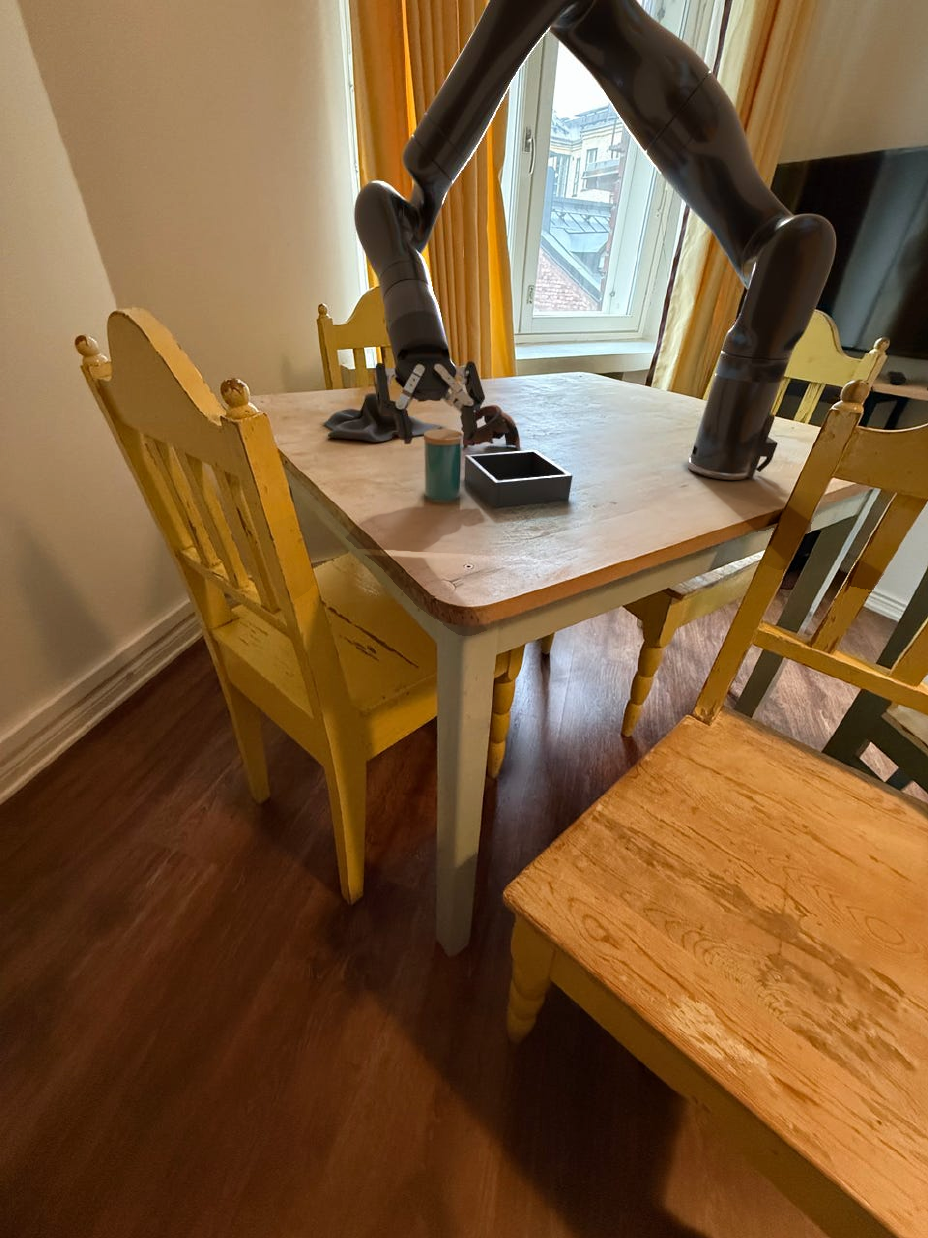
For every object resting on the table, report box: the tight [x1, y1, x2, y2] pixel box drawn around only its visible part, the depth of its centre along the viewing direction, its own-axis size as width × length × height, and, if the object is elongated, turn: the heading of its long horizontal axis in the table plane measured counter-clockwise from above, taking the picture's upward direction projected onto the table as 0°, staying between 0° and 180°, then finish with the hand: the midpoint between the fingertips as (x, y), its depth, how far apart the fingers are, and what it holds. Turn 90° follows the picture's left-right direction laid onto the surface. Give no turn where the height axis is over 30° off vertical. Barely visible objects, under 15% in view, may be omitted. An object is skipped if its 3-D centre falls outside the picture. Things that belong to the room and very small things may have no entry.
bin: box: [464, 449, 573, 510], centre depth 73 cm, size 11×11×4 cm
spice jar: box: [423, 428, 463, 502], centre depth 69 cm, size 5×5×8 cm
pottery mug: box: [460, 404, 522, 452], centre depth 89 cm, size 12×10×8 cm
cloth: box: [323, 392, 443, 443], centre depth 97 cm, size 22×19×6 cm
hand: (440, 439), depth 68 cm, fingers open, 8 cm apart
